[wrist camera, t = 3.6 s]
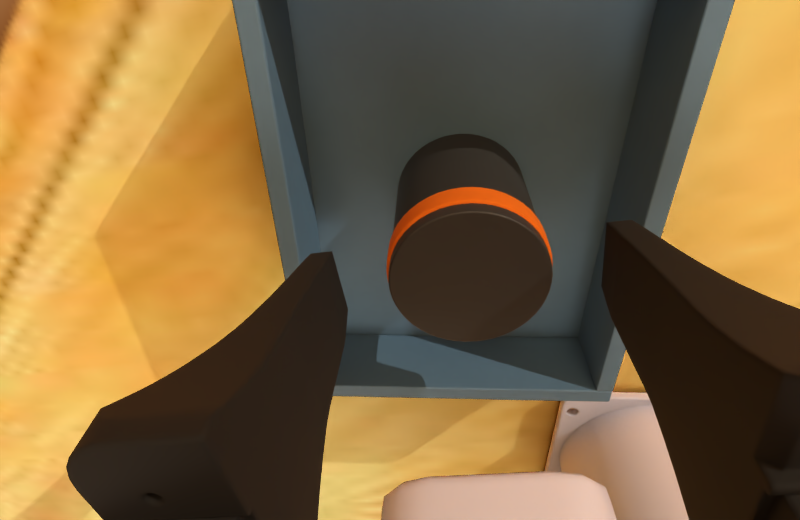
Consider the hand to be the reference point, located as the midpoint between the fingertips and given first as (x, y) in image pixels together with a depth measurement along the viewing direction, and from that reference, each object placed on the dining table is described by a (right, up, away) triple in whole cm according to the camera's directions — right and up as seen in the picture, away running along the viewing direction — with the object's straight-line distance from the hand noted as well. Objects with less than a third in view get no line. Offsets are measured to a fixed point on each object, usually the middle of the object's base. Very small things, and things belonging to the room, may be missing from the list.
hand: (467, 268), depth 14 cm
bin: (0, +3, +4) cm, 5 cm away
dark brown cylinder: (0, +2, +4) cm, 4 cm away
